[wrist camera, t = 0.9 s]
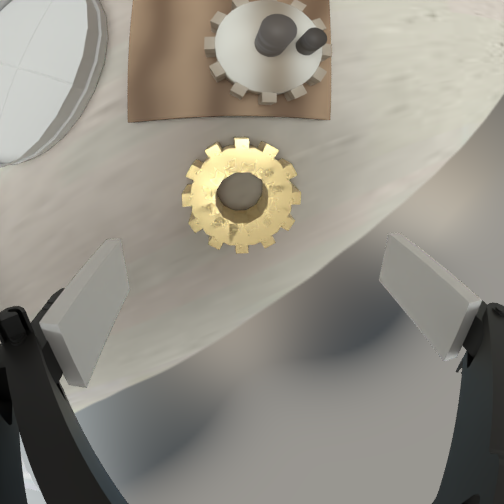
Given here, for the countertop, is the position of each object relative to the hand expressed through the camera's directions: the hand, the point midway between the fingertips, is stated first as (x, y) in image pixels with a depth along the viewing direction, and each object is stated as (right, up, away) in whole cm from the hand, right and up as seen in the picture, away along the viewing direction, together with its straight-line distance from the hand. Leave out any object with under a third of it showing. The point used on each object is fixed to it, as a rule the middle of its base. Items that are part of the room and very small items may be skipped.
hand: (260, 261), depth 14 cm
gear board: (-2, +25, +6) cm, 26 cm away
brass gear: (-2, +7, +14) cm, 16 cm away
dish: (-25, +21, +6) cm, 33 cm away
